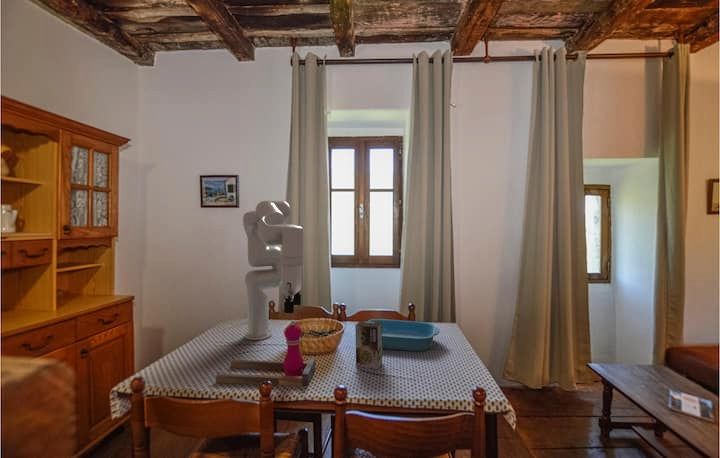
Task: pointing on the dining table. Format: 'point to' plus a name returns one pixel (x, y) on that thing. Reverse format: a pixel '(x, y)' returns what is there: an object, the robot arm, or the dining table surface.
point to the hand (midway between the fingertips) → (292, 308)
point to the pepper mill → (293, 351)
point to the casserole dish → (407, 334)
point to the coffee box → (368, 344)
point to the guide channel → (275, 380)
